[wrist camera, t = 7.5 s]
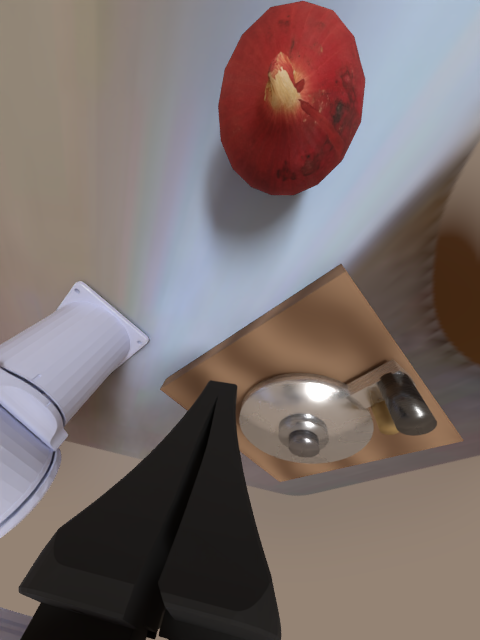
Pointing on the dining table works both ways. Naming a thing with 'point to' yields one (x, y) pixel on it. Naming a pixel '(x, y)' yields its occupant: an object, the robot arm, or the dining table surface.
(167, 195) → the dining table surface
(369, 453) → the base board
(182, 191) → the dining table surface
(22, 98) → the dining table surface
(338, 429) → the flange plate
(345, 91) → the red oval fruit
